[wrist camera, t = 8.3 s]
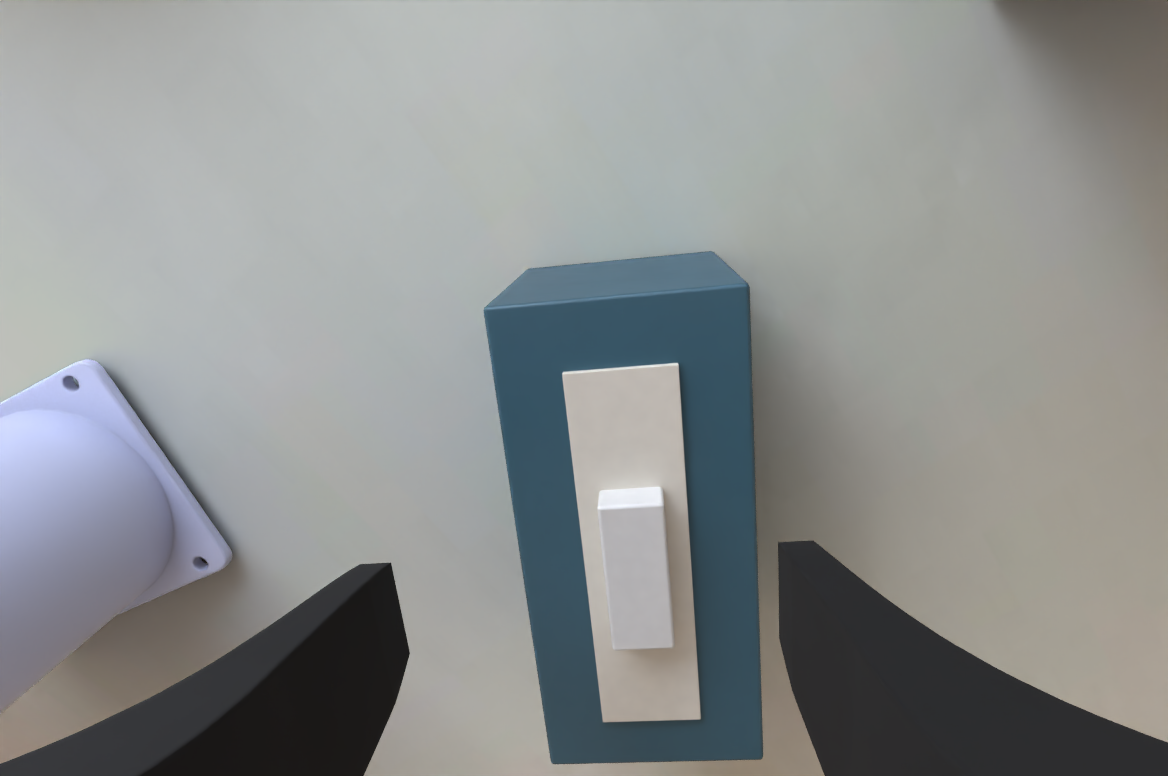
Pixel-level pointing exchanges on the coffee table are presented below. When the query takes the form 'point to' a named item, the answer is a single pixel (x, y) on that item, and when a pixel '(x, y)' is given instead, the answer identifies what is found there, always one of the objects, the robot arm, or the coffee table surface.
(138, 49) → the coffee table surface
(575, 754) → the tissue box
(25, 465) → the robot arm
